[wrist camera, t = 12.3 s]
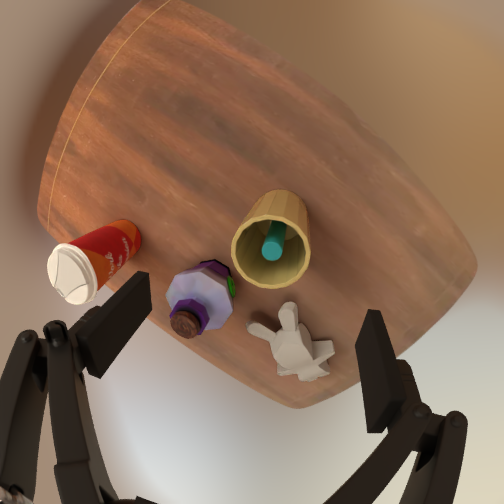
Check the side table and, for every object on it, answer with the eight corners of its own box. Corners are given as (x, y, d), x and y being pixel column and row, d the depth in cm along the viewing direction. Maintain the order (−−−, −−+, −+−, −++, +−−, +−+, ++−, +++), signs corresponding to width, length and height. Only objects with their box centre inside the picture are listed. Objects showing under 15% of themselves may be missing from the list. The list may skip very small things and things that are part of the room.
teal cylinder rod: (274, 209, 36) (262, 240, 26) (289, 211, 35) (283, 243, 25) (272, 223, 36) (260, 259, 26) (287, 225, 36) (280, 262, 26)
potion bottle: (256, 286, 40) (239, 341, 30) (210, 312, 43) (183, 366, 32) (217, 236, 39) (184, 278, 28) (173, 268, 42) (133, 313, 31)
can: (255, 185, 35) (234, 209, 24) (311, 193, 34) (316, 222, 24) (250, 238, 38) (228, 282, 27) (303, 246, 37) (302, 293, 26)
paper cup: (131, 270, 43) (78, 319, 30) (98, 236, 42) (38, 274, 29) (157, 237, 40) (101, 283, 27) (121, 201, 39) (55, 233, 26)
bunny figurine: (293, 395, 42) (235, 340, 37) (293, 371, 47) (239, 316, 42) (347, 374, 39) (298, 311, 34) (343, 350, 44) (296, 287, 39)
